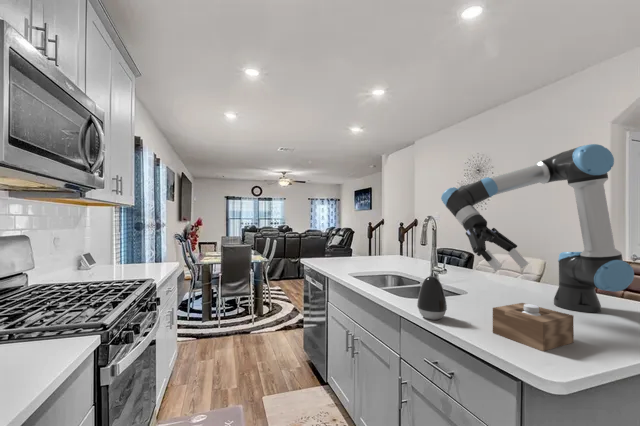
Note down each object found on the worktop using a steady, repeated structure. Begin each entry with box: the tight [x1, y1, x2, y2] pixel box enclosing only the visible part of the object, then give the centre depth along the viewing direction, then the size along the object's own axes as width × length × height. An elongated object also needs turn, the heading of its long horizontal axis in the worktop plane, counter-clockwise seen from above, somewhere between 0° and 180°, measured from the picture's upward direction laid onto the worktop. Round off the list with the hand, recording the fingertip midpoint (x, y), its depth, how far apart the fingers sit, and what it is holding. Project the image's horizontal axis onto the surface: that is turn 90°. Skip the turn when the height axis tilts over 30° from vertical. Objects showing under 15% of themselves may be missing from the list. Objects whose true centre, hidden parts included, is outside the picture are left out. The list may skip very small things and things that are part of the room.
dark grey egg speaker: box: [416, 275, 448, 321], centre depth 114 cm, size 10×10×15 cm
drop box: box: [492, 302, 575, 352], centre depth 96 cm, size 15×15×8 cm
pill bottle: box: [523, 303, 541, 316], centre depth 96 cm, size 5×5×10 cm
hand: (512, 267), depth 101 cm, fingers open, 13 cm apart
